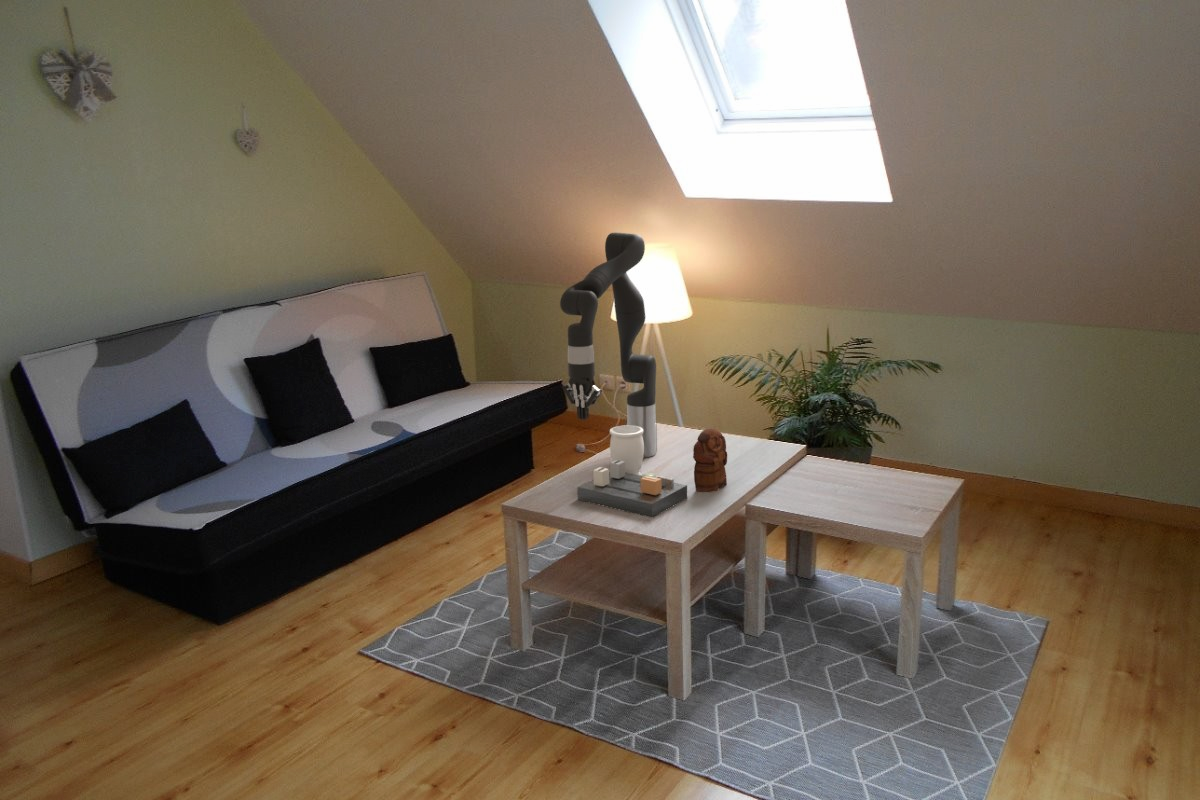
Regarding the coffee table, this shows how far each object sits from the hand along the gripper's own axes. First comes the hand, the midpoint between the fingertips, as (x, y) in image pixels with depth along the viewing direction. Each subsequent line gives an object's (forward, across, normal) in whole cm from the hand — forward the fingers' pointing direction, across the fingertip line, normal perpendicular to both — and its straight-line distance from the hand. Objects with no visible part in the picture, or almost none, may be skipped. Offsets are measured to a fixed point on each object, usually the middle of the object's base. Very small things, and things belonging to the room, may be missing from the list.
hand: (583, 418), depth 289 cm
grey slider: (+19, -6, -8) cm, 21 cm away
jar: (+23, -1, -20) cm, 31 cm away
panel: (+23, -14, -4) cm, 27 cm away
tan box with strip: (+19, -22, -2) cm, 29 cm away
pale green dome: (+19, -16, -9) cm, 27 cm away
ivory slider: (+19, -6, 0) cm, 20 cm away
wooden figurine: (+23, -28, -25) cm, 44 cm away
